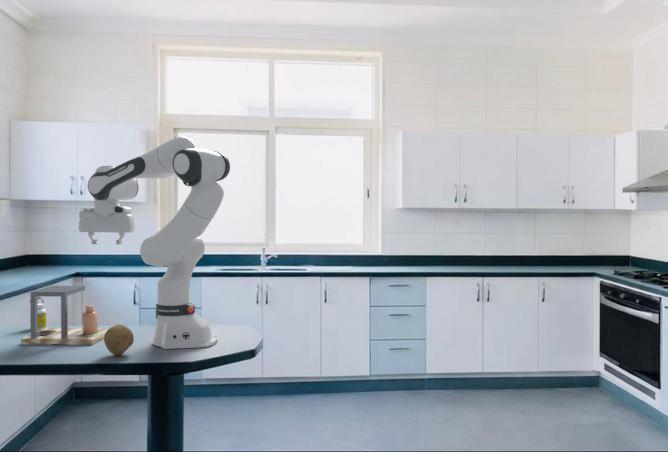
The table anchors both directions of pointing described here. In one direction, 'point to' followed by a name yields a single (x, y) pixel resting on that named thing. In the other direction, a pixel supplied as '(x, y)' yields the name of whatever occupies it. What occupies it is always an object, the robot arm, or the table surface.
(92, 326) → the terracotta bottle
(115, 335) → the natural sponge
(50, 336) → the birch board
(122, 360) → the table surface
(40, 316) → the supplement bottle
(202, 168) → the robot arm
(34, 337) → the tunnel roof
